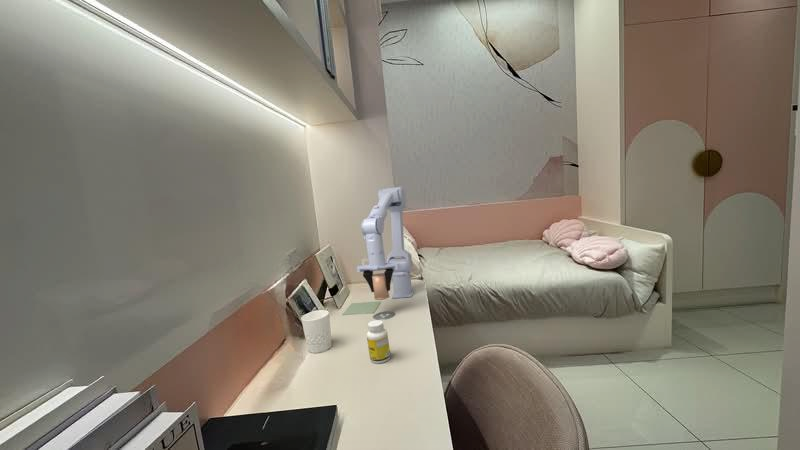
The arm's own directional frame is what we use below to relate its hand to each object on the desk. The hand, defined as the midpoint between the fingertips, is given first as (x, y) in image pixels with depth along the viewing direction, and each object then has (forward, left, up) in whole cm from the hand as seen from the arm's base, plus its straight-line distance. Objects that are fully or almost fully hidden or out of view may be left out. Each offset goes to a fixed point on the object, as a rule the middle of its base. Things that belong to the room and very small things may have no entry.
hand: (380, 290), depth 121 cm
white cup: (+23, -15, -9) cm, 29 cm away
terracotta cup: (0, 0, -2) cm, 2 cm away
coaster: (0, 0, -9) cm, 9 cm away
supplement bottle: (+31, +5, -9) cm, 33 cm away
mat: (-9, -11, -9) cm, 16 cm away
